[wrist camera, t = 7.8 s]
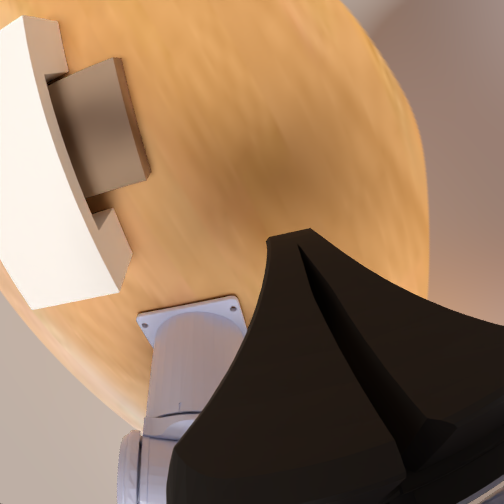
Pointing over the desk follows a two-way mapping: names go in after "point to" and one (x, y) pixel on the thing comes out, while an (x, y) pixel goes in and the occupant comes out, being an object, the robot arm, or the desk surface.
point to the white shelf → (47, 183)
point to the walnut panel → (100, 128)
